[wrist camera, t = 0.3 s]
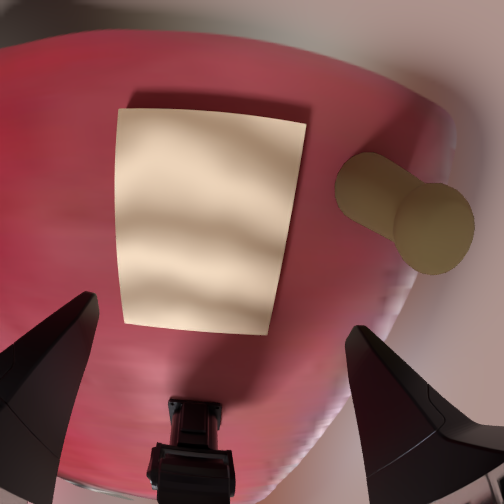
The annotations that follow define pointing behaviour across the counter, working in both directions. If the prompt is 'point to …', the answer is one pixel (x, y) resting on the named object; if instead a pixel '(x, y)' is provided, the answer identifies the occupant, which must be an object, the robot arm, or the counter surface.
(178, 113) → the birch board
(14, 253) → the counter surface
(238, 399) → the counter surface
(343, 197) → the cork
